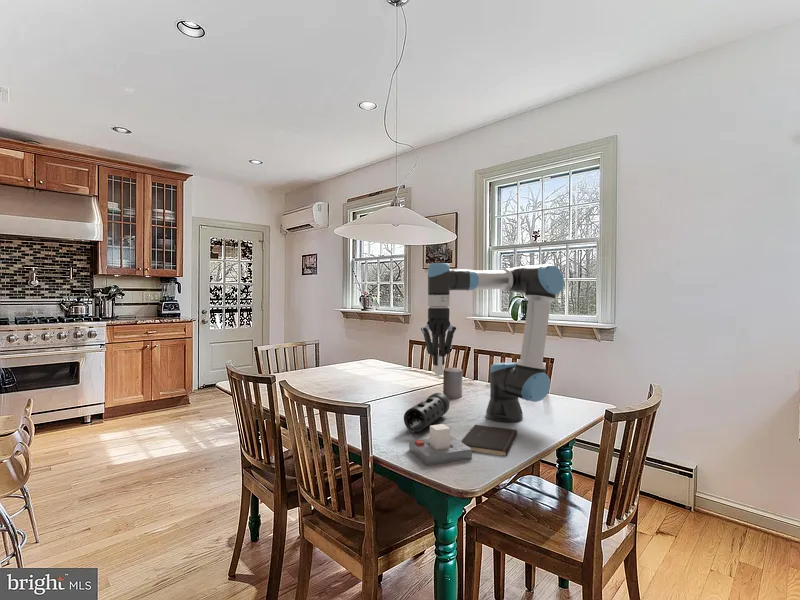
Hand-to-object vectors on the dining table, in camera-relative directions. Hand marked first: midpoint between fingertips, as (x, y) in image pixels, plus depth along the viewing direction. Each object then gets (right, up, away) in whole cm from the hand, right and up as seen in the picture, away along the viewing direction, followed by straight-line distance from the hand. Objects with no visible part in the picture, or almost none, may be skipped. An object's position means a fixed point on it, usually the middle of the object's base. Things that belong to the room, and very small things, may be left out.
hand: (438, 374), depth 151 cm
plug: (0, -25, -9) cm, 26 cm away
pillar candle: (+13, -23, +68) cm, 73 cm away
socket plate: (0, -25, -9) cm, 26 cm away
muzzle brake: (-2, -24, +22) cm, 33 cm away
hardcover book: (+18, -25, +3) cm, 31 cm away
